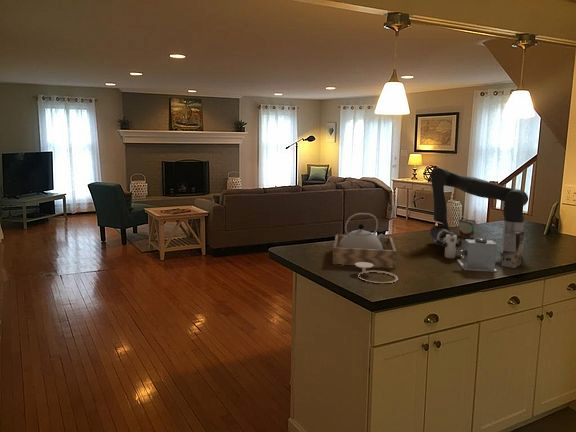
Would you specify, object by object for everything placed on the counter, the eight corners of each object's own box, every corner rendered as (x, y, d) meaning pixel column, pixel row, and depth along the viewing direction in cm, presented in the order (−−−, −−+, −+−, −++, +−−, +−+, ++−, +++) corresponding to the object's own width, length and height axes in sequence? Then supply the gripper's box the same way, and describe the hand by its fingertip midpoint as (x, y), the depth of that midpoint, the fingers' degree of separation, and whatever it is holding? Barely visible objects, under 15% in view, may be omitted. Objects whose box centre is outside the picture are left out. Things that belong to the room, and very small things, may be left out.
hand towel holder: (379, 277, 185) (343, 265, 201) (378, 288, 186) (342, 275, 202) (407, 270, 195) (370, 259, 211) (406, 280, 196) (370, 268, 212)
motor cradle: (486, 262, 227) (489, 234, 224) (497, 271, 210) (499, 241, 208) (450, 260, 229) (452, 232, 227) (457, 269, 212) (459, 239, 210)
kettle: (371, 251, 245) (373, 208, 241) (396, 262, 224) (399, 215, 220) (328, 254, 236) (330, 210, 232) (350, 266, 215) (352, 217, 211)
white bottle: (454, 255, 237) (455, 231, 235) (456, 259, 231) (458, 234, 229) (443, 255, 238) (445, 231, 236) (446, 258, 232) (447, 234, 230)
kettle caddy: (390, 252, 242) (391, 237, 241) (395, 268, 213) (396, 251, 211) (335, 249, 246) (335, 234, 245) (332, 264, 217) (333, 247, 215)
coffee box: (515, 268, 216) (519, 234, 214) (501, 265, 220) (504, 232, 218) (520, 264, 223) (524, 231, 221) (506, 262, 227) (509, 229, 225)
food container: (480, 238, 281) (481, 222, 279) (471, 239, 278) (473, 222, 277) (465, 234, 292) (466, 218, 290) (457, 235, 290) (458, 219, 288)
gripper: (432, 230, 248) (437, 237, 232) (460, 231, 246) (467, 238, 230) (431, 244, 250) (436, 252, 233) (459, 245, 248) (466, 253, 231)
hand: (451, 245), depth 232 cm, fingers closed on white bottle, 5 cm apart
